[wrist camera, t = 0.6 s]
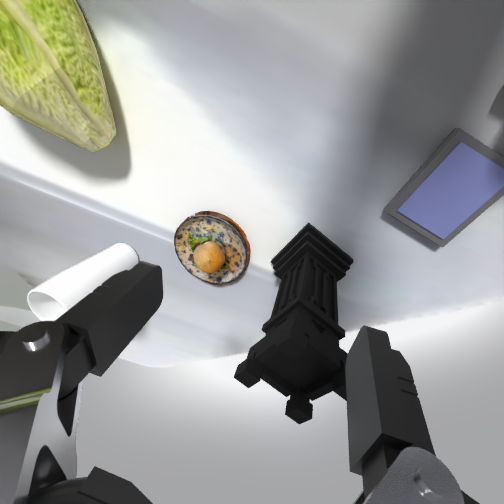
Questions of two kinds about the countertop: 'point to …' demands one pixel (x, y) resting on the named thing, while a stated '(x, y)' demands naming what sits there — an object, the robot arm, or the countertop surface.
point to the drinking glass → (79, 281)
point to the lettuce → (54, 72)
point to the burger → (212, 247)
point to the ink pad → (450, 188)
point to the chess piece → (302, 326)
